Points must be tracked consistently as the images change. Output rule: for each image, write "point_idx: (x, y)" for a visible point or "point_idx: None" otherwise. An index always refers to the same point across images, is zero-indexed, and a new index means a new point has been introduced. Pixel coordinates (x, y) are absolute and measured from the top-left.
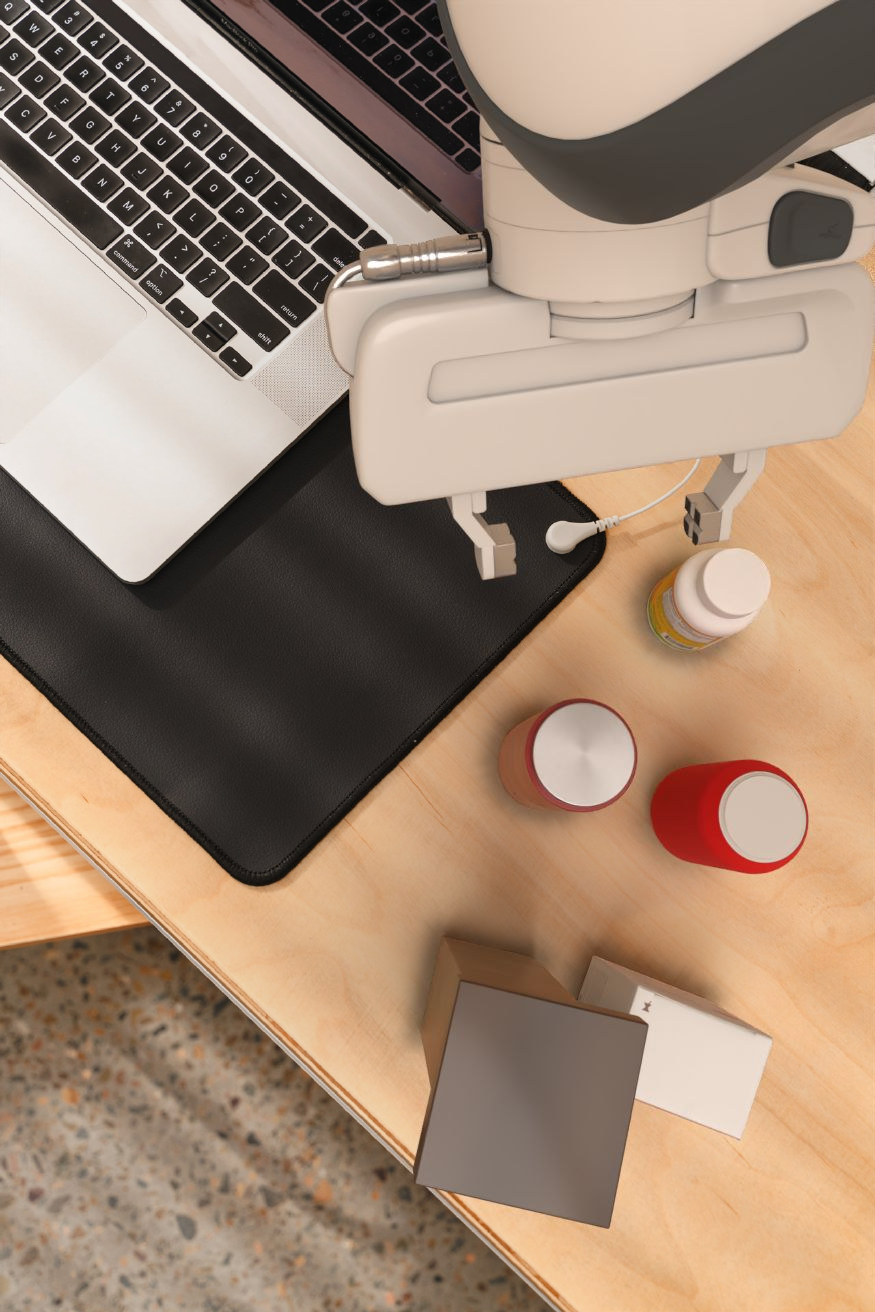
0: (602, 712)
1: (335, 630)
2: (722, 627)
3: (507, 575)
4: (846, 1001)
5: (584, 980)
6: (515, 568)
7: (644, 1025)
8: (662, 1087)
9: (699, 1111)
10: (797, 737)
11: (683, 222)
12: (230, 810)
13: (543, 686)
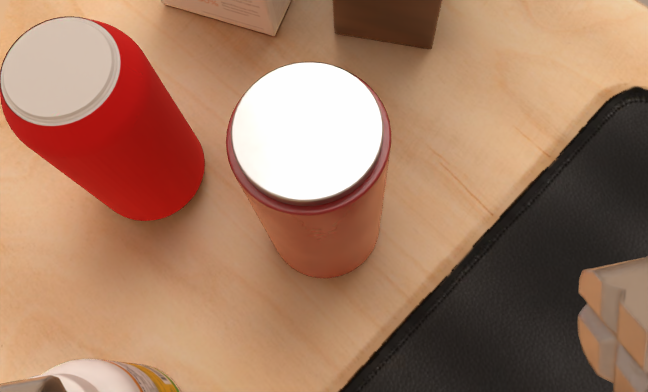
0: (277, 187)
1: (599, 384)
2: (80, 366)
3: (607, 265)
4: (25, 8)
5: (284, 13)
6: (598, 276)
7: None
8: None
9: None
10: (20, 263)
11: None
12: None
13: (324, 316)
